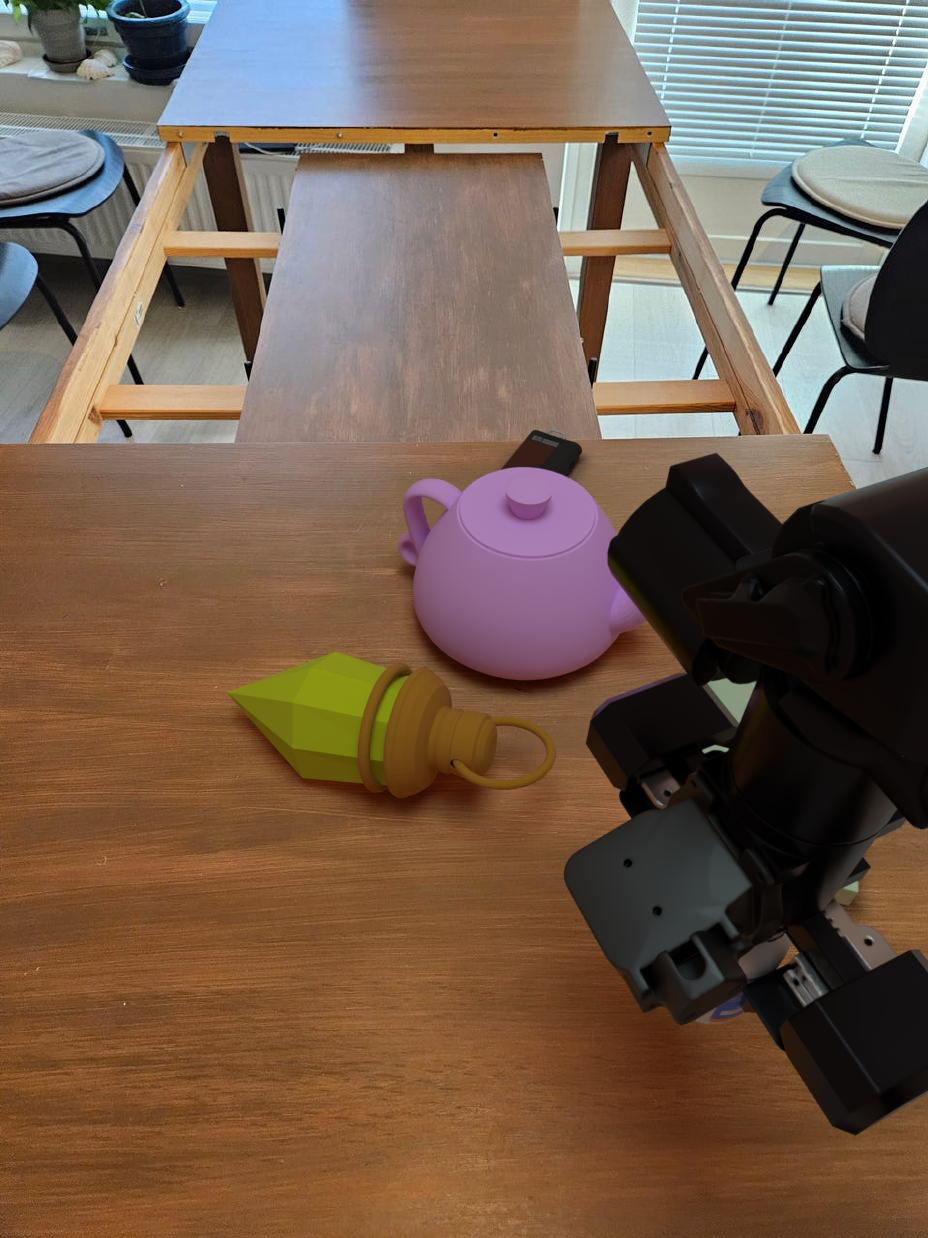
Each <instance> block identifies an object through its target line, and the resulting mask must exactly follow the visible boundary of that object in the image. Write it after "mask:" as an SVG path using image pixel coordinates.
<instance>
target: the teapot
mask: <svg viewBox="0 0 928 1238" xmlns="http://www.w3.org/2000/svg"><path fill="white" fill-rule="evenodd" d="M404 494H405V495H404V497H403V503H402V508H403V513H404V520H405V523H406V526H407V530H408V531H406V532H404V533H403V534H402V535H401V536H400V538H399V540H398V544H397V545H398V546H397V549H398V553H399V555H400V556H401V558H402V559H403V560H404V561H405V562H406V563H407V564H408V565H410V566H412V567H415V571H414V576H413V587H412V592H413V593H412V599H413V608H414V610H415V614H416V617H417V620H418V622H419V623H420V626H421V627H422V629H423V630H424V632H425V633H426V635H427V636H428V638H429V639H430V640H431V642H432V643H433V644H434V645H435V646H436V647H437V648H439V650H441V651H442V652H443V653H444V654H446V655H447V656H448V657H449V658H451V659H453V660H455V661H456V662H458V663H459V664H461V665H463V666H465V667H467V668H469V669H472V670H474V671H477V672H479V673H482V674H485V675H489V676H492V677H497V678H502V679H505V680H515V681H535V680H536V681H537V680H544V679H545V680H546V679H551V678H555V677H560V676H562V675H563V676H564V675H566V674H569V673H572V672H575V671H577V670H579V669H581V668H583V667H586V666H588V665H589V664H590V663H592V662H594V661H595V660H597V659H598V658H600V656H602V655H603V654H604V653H605V652H606V651H608V649H609V648H610V647H611V646H612V645H613V643H615V641H616V640H617V638H618V637H619V636H620V634H622V633H627V632H631V631H633V630H635V629H637V628H639V627H641V626H643V625H644V624H645V623H647V622H648V621H647V620H646V619H645V617H644V616H643V615H642V613H641V612H640V611H639V609H638V608H637V607H636V606H635V604H634V603H633V602H632V600H631V599H630V598H629V596H628V595H627V594H626V592H625V591H624V590H623V589H622V587H621V586H620V585H619V583H618V582H617V581H616V579H615V578H614V577H613V576H612V574H611V572H610V570H609V567H608V564H607V552H608V548H609V544H610V541H611V539H612V538H613V537H615V536H617V535H618V533H617V531H616V529H615V528H614V525H613V524H612V522H611V521H610V519H609V518H608V516H607V515H606V513H605V511H603V509H602V507H601V506H600V504H599V503H598V502H597V500H596V499H595V498H594V497H593V496H592V495H591V493H589V491H587V490H586V489H585V487H583V486H582V485H581V484H579V483H578V482H577V481H575V480H573V479H572V478H570V477H568V476H563V475H561V474H558V473H555V472H553V471H549V470H545V469H539V468H530V467H517V468H508V469H502V470H501V469H499V470H496V471H492V472H490V473H487V474H485V475H483V476H480V477H479V478H477V479H475V480H474V481H473V482H472V483H470V484H469V485H468V486H467V487H466V488H464V489H463V490H462V491H461V490H460V488H457V487H456V486H455V485H453V484H452V483H450V482H448V481H446V480H443V479H439V478H433V477H432V478H431V477H429V478H423V479H420V480H418V481H416V482H415V483H413V484H412V485H411V486H410V487H408V489H407V491H406V493H404ZM424 498H425V499H429V500H432V501H434V502H436V503H437V504H440V505H441V506H442V507H444V508H445V509H444V511H443V512H442V513H441V514H440V515H439V517H438V518H437V520H435V522H434V523H433V525H432V527H431V528H430V525H429V522H428V519H427V515H426V512H425V509H424V504H423V499H424Z"/></svg>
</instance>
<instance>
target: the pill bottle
mask: <svg viewBox="0 0 928 1238" xmlns="http://www.w3.org/2000/svg"><path fill="white" fill-rule="evenodd" d="M791 945H792V942H791V941H790V939H789V938H788V936H787V935H786V933H785V934H784V935H783V937H782V938H780V939H778V940H776V941H773V942H767V941H765V942H763V943H761V944H758V945H756V946H754V947H753V949H752V950H751V951H750V952H748V953H747V954H745V955H744V956H742V957H741V958H740V959H739V961H738V963H739V965H740V966H741V968H742V970H743V971H744V973H745V974H746V976H747V979H748V984H749V983H751V982H753V981H755V980H757V979H758V978H760V977H762V976H764V975H766V974H768V973H770V972H772V971H774V970H776V969H778V968H779V967H780V965H781V964H782V962H783V961H784V959H785V958H786V955H787V954H788V952H789V950H790V948H791ZM743 995H744V993H743V992H740V993H739V994H738V995H736V996H735V997H733V998H731V999H729V1000H728V1001H726V1002H724V1003H723V1004H721V1005H719V1006H718V1007H716V1008H714V1009H713V1010H711V1011H709V1012H708V1013H706V1014H704V1015H703V1016H701V1017H699V1018H698V1019H696V1020H694V1021H693V1022H697V1023H699V1024H706V1025H721V1024H726V1023H729V1022H731V1021H734V1020H736V1019H738V1018H739V1017H741V1016H742V1015H743V1014H744V1013H745V1012H744V1011H743V1009H742V1008H741V1006H740V1002H741V999H742V996H743Z"/></svg>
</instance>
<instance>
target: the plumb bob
mask: <svg viewBox="0 0 928 1238" xmlns="http://www.w3.org/2000/svg"><path fill="white" fill-rule="evenodd" d="M226 694H227V695H228V696H229V698H231V699H232V701H233V702H235V703H236V705H237V707H239V708H240V710H241V711H242V712H243V713H244V714H245V715H246V716H247V717H248V719H249V720H250V721H251V722H252V723H253V724H254V726H256V728H257V729H258V730H259V731H260V732H261V733H262V734H263V735H264V737H265V738H266V739H267V740H268V741H269V742H270V743H271V745H272V746H273V747H274V748H275V749H276V750H277V752H278V753H279V754H280V755H281V756H282V757H283V758H284V759H285V760H286V761H287V762H288V763H289V765H290V766H291V767H292V769H294V770H295V772H296V773H297V774H298V775H299V776H300V777H301V779H311V780H319V781H320V780H321V781H333V782H342V783H355V784H363V785H364V787H365V788H366V789H367V790H368V791H370V792H372V793H382V792H384V791H386V790H387V789H388V792H389V793H390V794H391V795H392V796H394V797H395V798H398V799H405V798H408V797H409V796H414V795H417V794H419V793H420V792H422V791H424V790H425V789H426V788H428V787H429V786H430V785H431V784H433V782H434V781H435V779H436V777H437V776H438V773H440V772H441V773H443V774H448V775H449V774H452V775H454V776H457V777H462V778H463V779H465V780H466V781H468V782H470V783H471V784H473V785H476V786H479V787H481V788H484V789H490V790H495V791H496V790H498V791H509V790H517V789H522V788H525V787H529V786H531V785H534V784H535V783H537V782H539V781H540V780H542V779H543V778H544V777H546V775H547V774H548V773H549V772H550V771H551V770H552V768H553V766H554V763H555V761H556V758H557V757H556V756H557V750H556V746H555V743H554V740H553V739H552V737H551V736H550V734H549V733H548V732H547V731H546V730H545V729H544V728H542V727H541V726H539V725H537V724H536V723H534V722H531V721H530V720H526V719H523V718H520V717H514V716H493V717H492V716H491V715H490V714H488V713H483V712H479V711H478V712H477V711H473V710H468V709H467V710H464V709H462V708H457V707H453V701H452V700H453V699H452V695H451V692H450V690H449V688H448V687H447V685H446V684H445V682H444V681H443V679H442V678H441V677H440V676H439V675H437V674H436V673H435V672H434V670H432V669H431V668H428V667H419V668H416V669H415V670H414V671H413V670H412V669H411V667H410V666H408V665H407V664H405V663H402V662H396V663H392V664H391V665H390V666H388V667H383V666H381V665H378V664H374V663H372V662H370V661H369V662H368V661H366V660H363V659H359V658H356V657H353V656H351V655H347V654H344V653H342V652H338V651H334V652H330V653H328V654H325V655H322V656H320V657H318V658H315V659H312V660H309V661H307V662H304V663H301V664H299V665H296V666H294V667H290V668H288V669H285V670H282V671H280V672H277V673H275V674H272V675H269V676H266V677H264V678H260V679H258V680H256V681H253V682H251V683H247V684H244V685H242V686H240V687H237V688H234V689H232V690H229V691H226ZM503 726H504V727H514V728H518V729H519V728H520V729H523V730H525V731H528V732H530V733H532V734H533V735H535V736H536V737H537V738H539V740H540V741H541V742H542V743H543V745H544V748H545V752H546V753H545V758H544V761H543V763H542V764H541V765H540V766H539V767H538V768H537V769H536V770H534V771H533V772H532V773H529V774H527V775H524V776H522V777H518V778H512V779H493V778H487V777H484V776H483V775H484V774H485V773H486V772H488V771H489V769H490V768H491V766H492V765H493V761H494V759H495V755H496V750H497V746H498V728H497V727H503Z"/></svg>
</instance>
